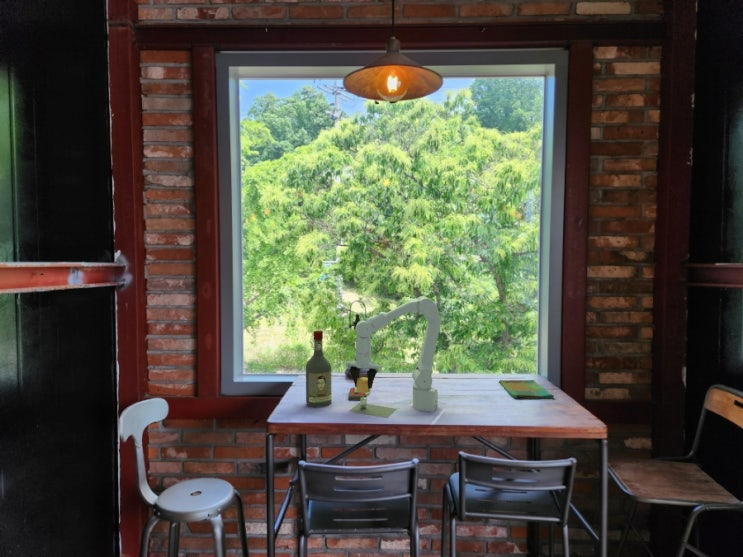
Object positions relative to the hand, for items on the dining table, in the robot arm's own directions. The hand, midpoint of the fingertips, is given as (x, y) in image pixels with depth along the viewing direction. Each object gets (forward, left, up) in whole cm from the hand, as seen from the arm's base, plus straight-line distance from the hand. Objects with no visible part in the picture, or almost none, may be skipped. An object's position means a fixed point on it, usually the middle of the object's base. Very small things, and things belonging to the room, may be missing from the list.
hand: (363, 387), depth 167 cm
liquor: (+19, +2, -10) cm, 21 cm away
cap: (0, 0, -1) cm, 1 cm away
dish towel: (-54, -52, -10) cm, 76 cm away
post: (0, 0, -8) cm, 8 cm away
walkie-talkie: (+9, -15, -10) cm, 21 cm away
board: (-4, 0, -9) cm, 10 cm away
